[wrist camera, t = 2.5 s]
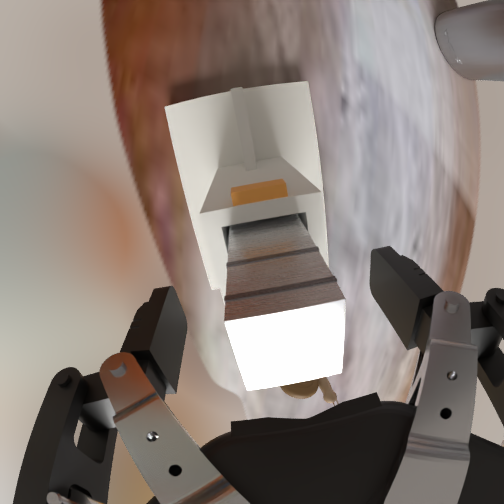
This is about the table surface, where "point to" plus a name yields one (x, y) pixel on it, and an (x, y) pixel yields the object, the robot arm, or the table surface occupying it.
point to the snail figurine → (310, 389)
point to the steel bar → (282, 304)
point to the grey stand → (248, 165)
